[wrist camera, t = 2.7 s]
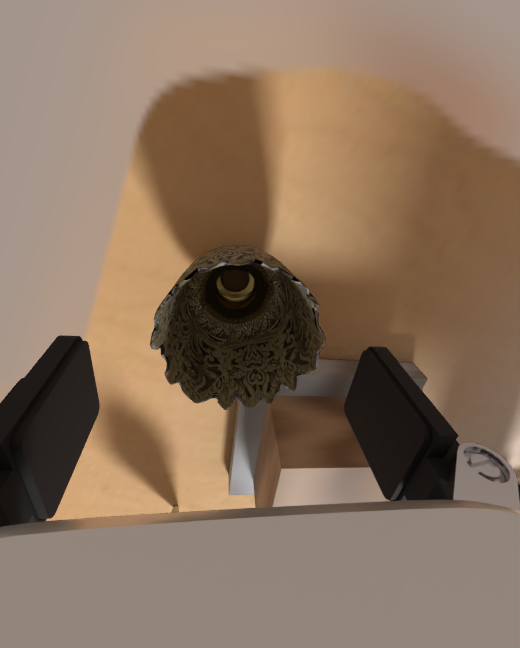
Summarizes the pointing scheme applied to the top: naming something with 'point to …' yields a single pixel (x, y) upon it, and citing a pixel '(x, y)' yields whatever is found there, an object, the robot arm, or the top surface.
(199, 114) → the top surface
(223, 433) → the top surface
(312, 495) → the brown block on base
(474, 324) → the top surface
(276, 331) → the cup
